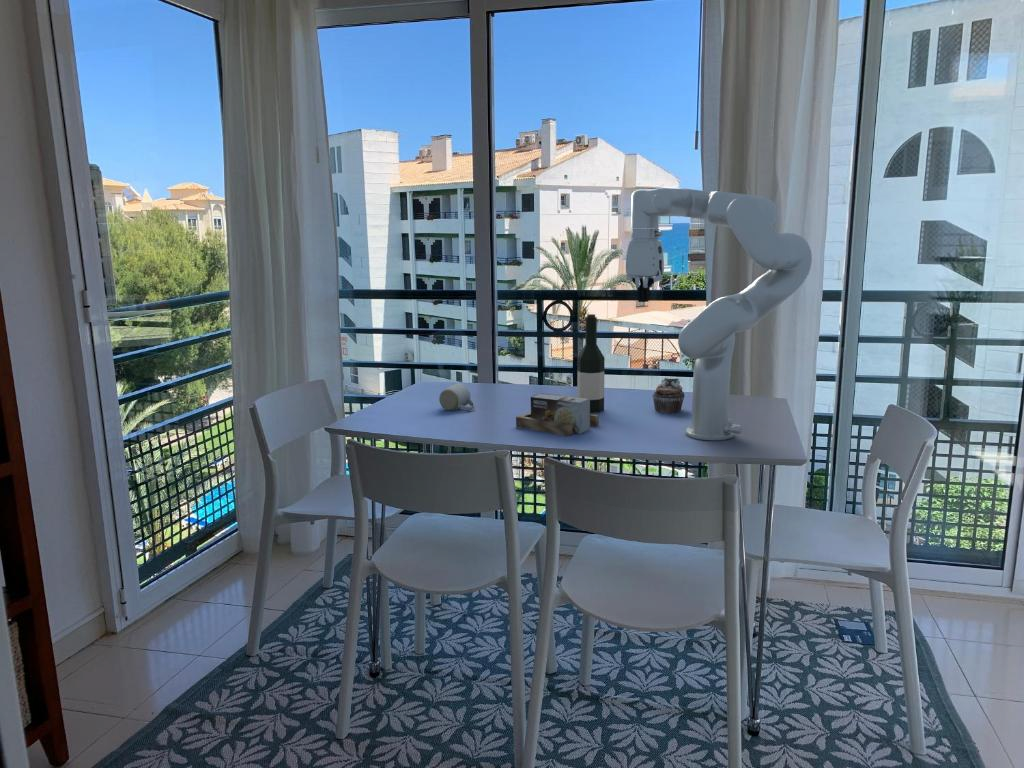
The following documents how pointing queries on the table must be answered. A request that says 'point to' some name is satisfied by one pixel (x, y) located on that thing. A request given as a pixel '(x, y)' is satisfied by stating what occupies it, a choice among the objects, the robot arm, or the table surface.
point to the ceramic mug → (456, 398)
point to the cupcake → (668, 396)
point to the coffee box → (562, 410)
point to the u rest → (549, 424)
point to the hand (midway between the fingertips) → (643, 301)
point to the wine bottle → (591, 368)
